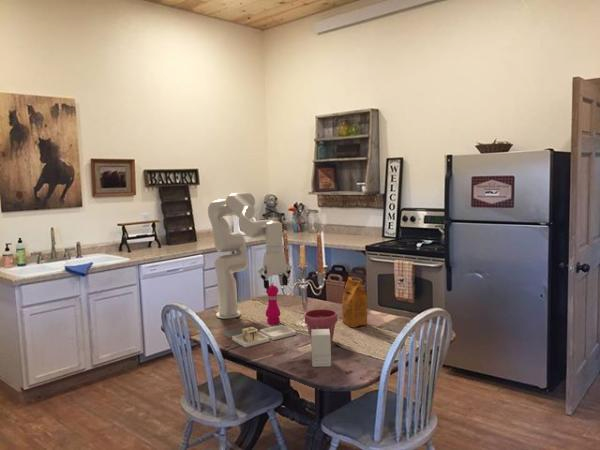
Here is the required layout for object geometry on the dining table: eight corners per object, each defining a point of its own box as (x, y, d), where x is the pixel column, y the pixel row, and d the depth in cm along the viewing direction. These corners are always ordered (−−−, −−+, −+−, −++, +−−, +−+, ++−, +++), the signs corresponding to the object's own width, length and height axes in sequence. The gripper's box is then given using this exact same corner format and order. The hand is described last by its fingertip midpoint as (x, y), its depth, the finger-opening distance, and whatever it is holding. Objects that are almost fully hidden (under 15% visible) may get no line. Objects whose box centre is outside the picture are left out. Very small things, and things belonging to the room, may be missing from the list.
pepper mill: (278, 324, 249) (277, 284, 246) (264, 324, 250) (262, 284, 248) (282, 320, 256) (280, 280, 253) (268, 319, 257) (266, 280, 255)
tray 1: (232, 340, 228) (232, 336, 228) (255, 335, 235) (255, 330, 235) (245, 348, 218) (244, 343, 218) (269, 342, 225) (269, 337, 225)
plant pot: (314, 334, 233) (313, 307, 232) (343, 338, 227) (342, 310, 225) (299, 344, 221) (298, 315, 219) (329, 349, 214) (328, 319, 212)
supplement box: (330, 359, 203) (330, 328, 202) (331, 366, 196) (330, 334, 194) (312, 359, 204) (311, 328, 202) (311, 367, 196) (310, 335, 195)
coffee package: (357, 318, 254) (356, 275, 252) (370, 325, 243) (369, 280, 240) (339, 321, 251) (338, 277, 248) (351, 329, 239) (350, 282, 237)
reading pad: (219, 333, 239) (219, 332, 239) (242, 327, 246) (242, 326, 246) (229, 339, 231) (229, 337, 231) (252, 333, 237) (252, 332, 237)
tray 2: (259, 334, 236) (259, 329, 236) (281, 328, 243) (281, 324, 242) (273, 341, 226) (273, 336, 226) (296, 335, 233) (295, 331, 233)
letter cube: (242, 340, 227) (242, 328, 227) (252, 337, 230) (252, 326, 229) (248, 343, 223) (248, 331, 222) (258, 340, 226) (258, 329, 225)
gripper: (286, 246, 238) (287, 282, 240) (253, 250, 228) (255, 288, 230) (295, 248, 231) (296, 285, 233) (261, 252, 222) (263, 291, 224)
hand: (275, 286), depth 232 cm, fingers open, 9 cm apart
